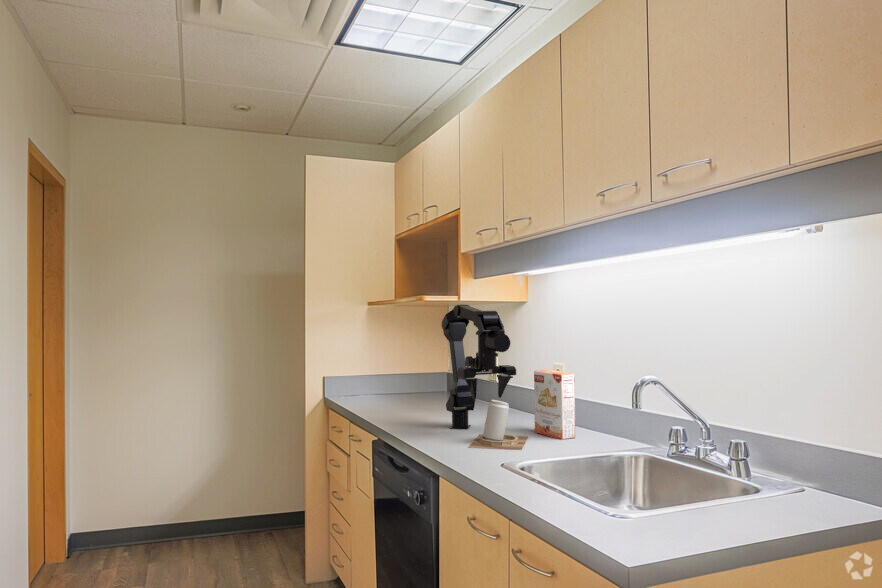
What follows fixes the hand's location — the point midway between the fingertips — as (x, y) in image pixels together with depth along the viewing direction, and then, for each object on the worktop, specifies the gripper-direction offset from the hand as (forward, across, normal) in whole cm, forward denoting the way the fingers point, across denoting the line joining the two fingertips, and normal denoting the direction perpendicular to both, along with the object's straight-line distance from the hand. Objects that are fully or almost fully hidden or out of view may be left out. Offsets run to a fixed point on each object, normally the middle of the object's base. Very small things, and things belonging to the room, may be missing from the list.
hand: (487, 398), depth 208 cm
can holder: (+13, 0, +8) cm, 15 cm away
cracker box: (+13, -21, +6) cm, 26 cm away
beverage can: (+12, +2, +7) cm, 14 cm away
